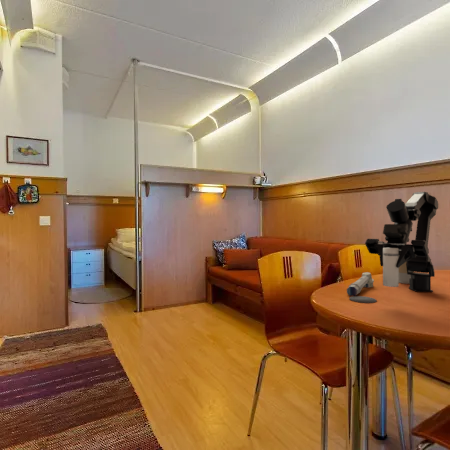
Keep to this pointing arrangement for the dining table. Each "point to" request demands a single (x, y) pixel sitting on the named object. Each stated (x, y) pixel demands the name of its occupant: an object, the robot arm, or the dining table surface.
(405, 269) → the coffee cup
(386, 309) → the dining table surface
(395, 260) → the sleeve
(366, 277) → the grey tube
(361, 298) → the pad
